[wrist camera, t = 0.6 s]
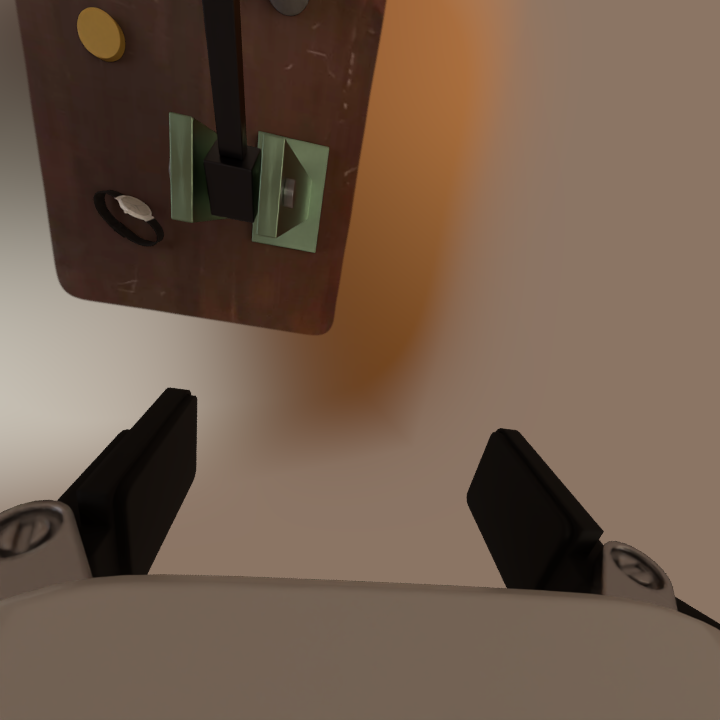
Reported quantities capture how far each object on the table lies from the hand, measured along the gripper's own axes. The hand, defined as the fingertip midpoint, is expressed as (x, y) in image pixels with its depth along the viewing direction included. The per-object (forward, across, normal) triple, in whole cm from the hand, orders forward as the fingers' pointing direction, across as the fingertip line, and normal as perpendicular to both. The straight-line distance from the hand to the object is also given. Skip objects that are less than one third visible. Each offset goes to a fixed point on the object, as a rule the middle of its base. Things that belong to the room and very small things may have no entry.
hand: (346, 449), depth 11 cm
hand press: (+40, +6, -7) cm, 41 cm away
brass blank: (+40, +27, -18) cm, 51 cm away
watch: (+40, +25, -1) cm, 47 cm away
